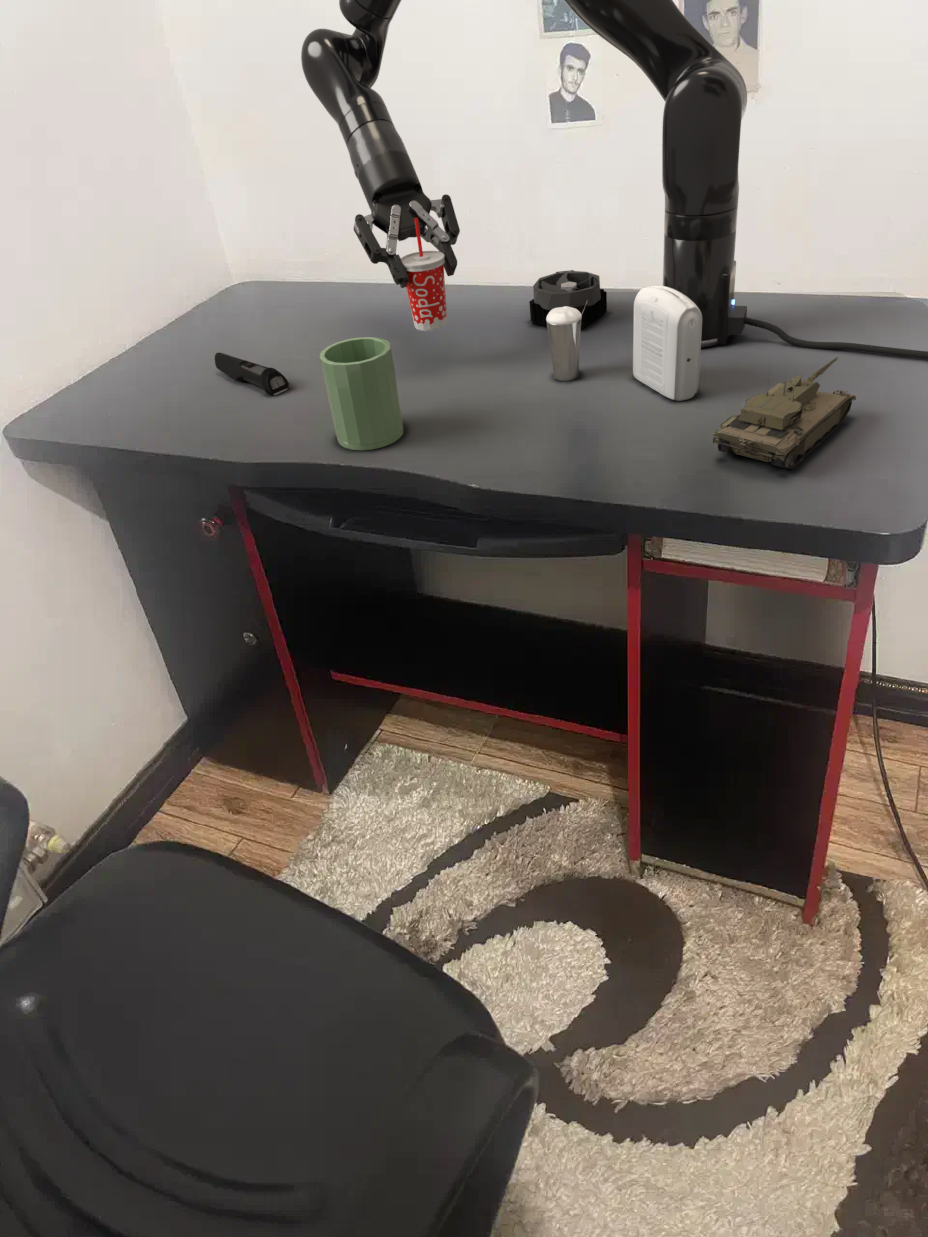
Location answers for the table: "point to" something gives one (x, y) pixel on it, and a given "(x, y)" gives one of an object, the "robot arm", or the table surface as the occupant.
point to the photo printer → (667, 342)
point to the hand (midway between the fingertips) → (429, 278)
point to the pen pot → (362, 393)
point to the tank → (784, 422)
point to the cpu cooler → (568, 296)
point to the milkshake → (564, 341)
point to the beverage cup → (426, 286)
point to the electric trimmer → (252, 373)
